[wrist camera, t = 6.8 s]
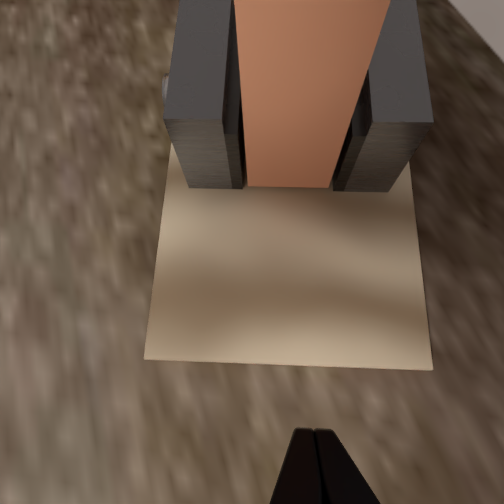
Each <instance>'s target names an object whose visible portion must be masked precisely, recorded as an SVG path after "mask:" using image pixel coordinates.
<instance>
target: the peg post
mask: <svg viewBox="0 0 504 504" xmlns="http://www.w3.org/2000/svg"><path fill="white" fill-rule="evenodd" d="M390 1H391V0H234V3H235V17H236V30H237V44H238V57H239V71H240V85H241V98H242V112H243V125H244V139H245V153H246V166H247V180H248V186H258V187H306V188H328V187H329V184H330V181H331V178H332V175H333V172H334V169H335V166H336V163H337V160H338V157H339V154H340V151H341V148H342V145H343V142H344V139H345V136H346V133H347V130H348V127H349V124H350V121H351V118H352V115H353V112H354V109H355V106H356V103H357V100H358V97H359V94H360V91H361V88H362V85H363V82H364V79H365V76H366V73H367V70H368V67H369V64H370V61H371V58H372V55H373V52H374V49H375V46H376V43H377V40H378V37H379V34H380V31H381V28H382V25H383V22H384V19H385V16H386V13H387V10H388V7H389V4H390Z"/></svg>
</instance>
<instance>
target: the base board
mask: <svg viewBox="0 0 504 504" xmlns="http://www.w3.org/2000/svg"><path fill="white" fill-rule="evenodd" d="M144 359H146V360H168V361H194V362H220V363H245V364H271V365H297V366H323V367H349V368H375V369H401V370H427V371H429V370H433V364H432V356H431V347H430V338H429V330H428V321H427V313H426V304H425V295H424V287H423V278H422V269H421V261H420V252H419V244H418V235H417V226H416V218H415V209H414V200H413V192H412V183H411V175H410V166H409V161H408V163H407V165H406V166H405V168H404V169H403V171H402V172H401V174H400V175H399V177H398V178H397V180H396V181H395V183H394V185H393V186H392V188H391V189H390V191H389V192H340V191H333V183H332V178H331V181H330V184H329V187H328V188H306V187H258V186H248V180H247V166H246V153H245V159H244V178H243V189H198V188H189V187H188V184H187V182H186V179H185V176H184V174H183V171H182V168H181V166H180V163H179V160H178V157H177V155H176V152H175V149H174V147H173V144H172V143H171V151H170V159H169V166H168V174H167V182H166V190H165V197H164V205H163V213H162V221H161V228H160V236H159V244H158V252H157V259H156V267H155V275H154V282H153V290H152V298H151V306H150V313H149V321H148V329H147V337H146V344H145V352H144Z"/></svg>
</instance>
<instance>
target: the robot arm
mask: <svg viewBox="0 0 504 504" xmlns="http://www.w3.org/2000/svg"><path fill="white" fill-rule="evenodd" d="M270 504H380V502H379V500H378V499H377V497H376V496H375V494H374V493H373V491H372V490H371V488H370V487H369V485H368V483H367V482H366V480H365V479H364V477H363V476H362V474H361V473H360V471H359V469H358V468H357V466H356V465H355V463H354V462H353V460H352V459H351V457H350V456H349V454H348V452H347V451H346V449H345V448H344V446H343V445H342V443H341V442H340V440H339V438H338V437H337V435H336V434H335V432H334V431H333V430H331V429H323V428H316V429H314V431H313V429H311V428H300V427H297V428H295V429H294V431H293V434H292V437H291V440H290V443H289V446H288V449H287V452H286V455H285V458H284V461H283V464H282V468H281V471H280V474H279V477H278V480H277V483H276V486H275V489H274V492H273V495H272V498H271V501H270Z"/></svg>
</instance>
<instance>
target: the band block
mask: <svg viewBox="0 0 504 504" xmlns="http://www.w3.org/2000/svg"><path fill="white" fill-rule="evenodd" d="M162 97H163V104H164V115H163V120H164V123H165V125H166V128H167V131H168V133H169V136H170V139H171V141H172V144H173V147H174V149H175V152H176V155H177V157H178V160H179V163H180V166H181V168H182V171H183V174H184V176H185V179H186V182H187V184H188V187H189V188H198V189H243V178H244V159H245V139H244V125H243V112H242V98H241V85H240V71H239V57H238V44H237V30H236V17H235V5H234V2H233V0H180V2H179V9H178V16H177V23H176V30H175V37H174V44H173V51H172V58H171V66H170V73H165V74H164V76H163V80H162ZM433 123H434V119H433V112H432V106H431V99H430V92H429V85H428V79H427V72H426V65H425V58H424V51H423V45H422V38H421V31H420V24H419V18H418V11H417V4H416V0H391V1H390V4H389V7H388V10H387V13H386V16H385V19H384V22H383V25H382V28H381V31H380V34H379V37H378V40H377V43H376V46H375V49H374V52H373V55H372V58H371V61H370V64H369V67H368V70H367V73H366V76H365V79H364V82H363V85H362V88H361V91H360V94H359V97H358V100H357V103H356V106H355V109H354V112H353V115H352V118H351V121H350V124H349V127H348V130H347V133H346V136H345V139H344V142H343V145H342V148H341V151H340V154H339V157H338V160H337V163H336V166H335V169H334V172H333V175H332V183H333V191H340V192H389V191H390V189H391V188H392V186H393V185H394V183H395V181H396V180H397V178H398V177H399V175H400V174H401V172H402V171H403V169H404V168H405V166H406V165H407V163H408V161H409V160H410V158H411V157H412V155H413V154H414V152H415V151H416V149H417V148H418V146H419V145H420V143H421V142H422V140H423V138H424V137H425V135H426V134H427V132H428V131H429V129H430V128H431V126H432V125H433Z"/></svg>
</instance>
